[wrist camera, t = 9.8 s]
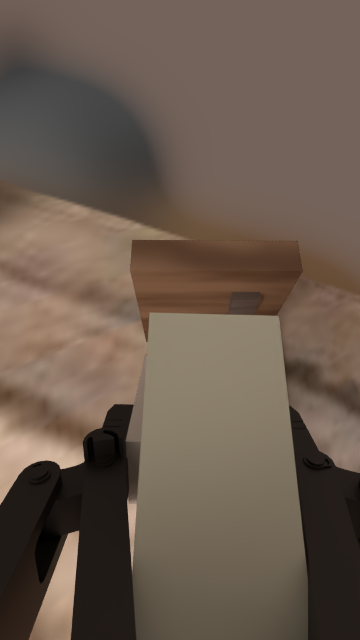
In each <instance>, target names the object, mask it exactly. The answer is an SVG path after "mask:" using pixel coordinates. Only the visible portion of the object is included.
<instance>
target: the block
mask: <svg viewBox="0 0 360 640" xmlns="http://www.w3.org/2000/svg"><path fill="white" fill-rule="evenodd" d="M132 582H133V597H134V611H135V626H136V640H308V575H307V566H306V557H305V548H304V539H303V530H302V521H301V512H300V503H299V494H298V485H297V476H296V467H295V458H294V448H293V439H292V430H291V421H290V412H289V403H288V394H287V385H286V376H285V367H284V358H283V349H282V340H281V331H280V322H279V316H264V315H225V314H187V313H150V315H149V330H148V345H147V360H146V375H145V390H144V405H143V420H142V435H141V450H140V466H139V481H138V496H137V511H136V526H135V541H134V556H133V571H132Z"/></svg>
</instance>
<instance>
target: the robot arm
mask: <svg viewBox="0 0 360 640" xmlns="http://www.w3.org/2000/svg"><path fill="white" fill-rule="evenodd" d="M146 360H147V355H145V358H144V363H143V367H142V371H141V376H140V380H139V385H138V389H137V393H136V398H135V402H134V405H124V404H115V405H114V406H113V407H112V408H111V409H110V410H109V411H108V412H107V415H106V418H105V421H104V424H103V427H102V428H100V429H96V430H94V431H92V432H90V433H89V434H88V435H87V436H86V437H85V438H84V441H83V449H84V459H85V462H83V463H81V464H79V465H77V466H74V467H70V468H65V469H60V467H59V465H58V464H57V463H55V462H52V461H39V462H36V463H34V464H31V465H30V466H28V467H26V468H25V469H24V470H23V471H22V472H21V473H20V474H19V476H18V478H17V479H16V481H15V482H14V484H13V486H12V487H11V489H10V490H9V492H8V494H7V495H6V497H5V498H4V500H3V502H2V503H1V505H0V640H28V639H29V637H30V634H31V631H32V629H33V626H34V623H35V621H36V618H37V615H38V613H39V610H40V607H41V605H42V602H43V599H44V597H45V594H46V591H47V589H48V586H49V583H50V581H51V578H52V575H53V573H54V570H55V567H56V565H57V562H58V559H59V557H60V554H61V551H62V549H63V546H64V543H65V541H66V538H67V535H68V533H72V532H75V531H79V543H78V556H77V568H76V581H75V594H74V606H73V619H72V632H71V640H136V626H135V611H134V597H133V582H132V567H131V553H130V538H129V523H128V509H127V499H128V502H129V504H137V496H138V481H139V466H140V450H141V435H142V420H143V405H144V390H145V375H146ZM289 412H290V421H291V430H292V439H293V448H294V458H295V467H296V476H297V485H298V494H299V503H300V512H301V521H302V530H303V539H304V548H305V557H306V566H307V575H308V640H360V473H356V472H352V471H348V470H344V469H341V468H338V467H336V466H335V464H334V462H333V460H332V459H331V458H329V457H328V456H327V455H325V454H324V453H322V452H320V451H319V450H318V448H317V446H316V444H315V442H314V441H313V439H312V437H311V435H310V433H309V431H308V429H307V428H306V426H305V424H304V423H303V420H302V418H301V416H300V414H299V413H298V412H297V411H296V410H294V409H293V408H292V407H291V406H289Z"/></svg>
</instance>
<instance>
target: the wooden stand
mask: <svg viewBox="0 0 360 640" xmlns="http://www.w3.org/2000/svg"><path fill="white" fill-rule="evenodd" d="M302 271H303V270H302V264H301V259H300V253H299V247H298V241H203V240H202V241H200V240H132V252H131V265H130V272H131V276H132V280H133V285H134V289H135V294H136V298H137V302H138V307H139V311H140V315H141V320H142V324H143V328H144V333H145V337H146V342H148V330H149V315H150V313H187V314H225V315H264V316H276V315H277V313H278V312H279V310H280V308H281V307H282V305H283V303H284V302H285V300H286V298H287V296H288V295H289V293H290V291H291V290H292V288H293V286H294V285H295V283H296V281H297V280H298V278H299V276H300V275H301V273H302Z"/></svg>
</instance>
